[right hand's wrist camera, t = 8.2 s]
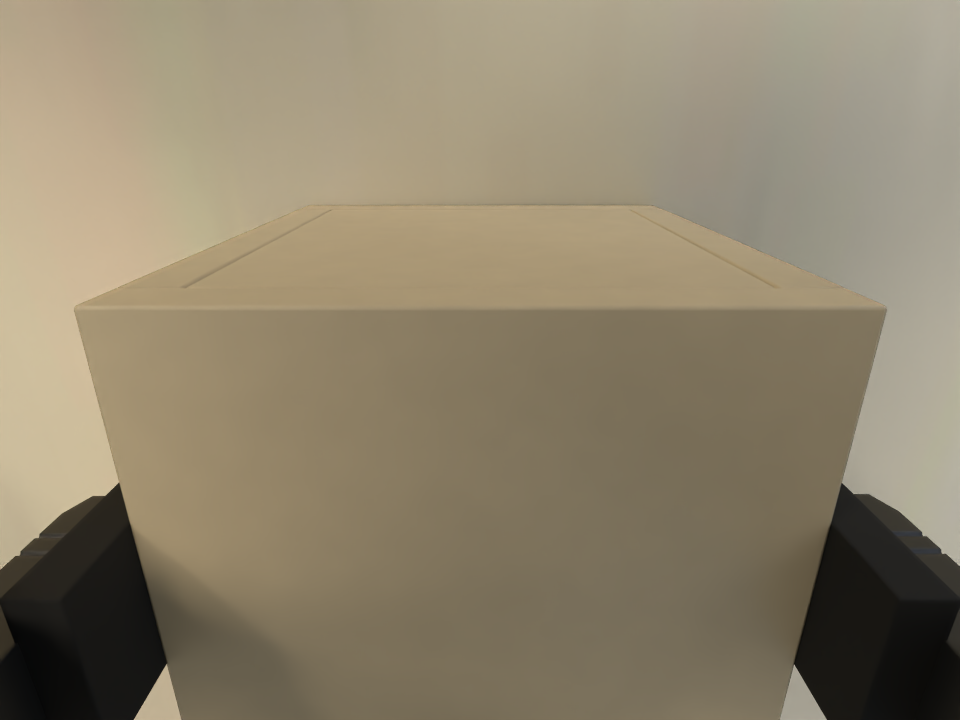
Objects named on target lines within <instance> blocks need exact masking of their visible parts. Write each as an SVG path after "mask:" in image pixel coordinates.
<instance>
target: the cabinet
mask: <svg viewBox="0 0 960 720" xmlns="http://www.w3.org/2000/svg"><path fill="white" fill-rule="evenodd" d="M74 312H75V315H76V319H77V323H78V327H79V331H80V334H81V338H82V342H83V346H84V350H85V353H86V357H87V361H88V365H89V369H90V372H91V376H92V380H93V384H94V388H95V392H96V395H97V399H98V403H99V407H100V411H101V414H102V418H103V422H104V426H105V430H106V433H107V437H108V441H109V445H110V449H111V452H112V456H113V460H114V464H115V468H116V472H117V475H118V479H119V483H120V487H121V491H122V494H123V498H124V502H125V506H126V510H127V513H128V517H129V521H130V525H131V529H132V532H133V536H134V540H135V544H136V548H137V552H138V555H139V559H140V563H141V567H142V571H143V574H144V578H145V582H146V586H147V590H148V593H149V597H150V601H151V605H152V609H153V612H154V616H155V620H156V624H157V628H158V632H159V635H160V639H161V643H162V647H163V651H164V654H165V658H166V662H167V666H168V670H169V673H170V677H171V681H172V685H173V689H174V692H175V696H176V700H177V704H178V708H179V712H180V715H181V719H182V720H780V716H781V712H782V708H783V704H784V701H785V697H786V693H787V689H788V685H789V682H790V678H791V674H792V670H793V666H794V663H795V659H796V655H797V651H798V647H799V643H800V640H801V636H802V632H803V628H804V624H805V621H806V617H807V613H808V609H809V605H810V601H811V598H812V594H813V590H814V586H815V582H816V579H817V575H818V571H819V567H820V563H821V560H822V556H823V552H824V548H825V544H826V540H827V537H828V533H829V529H830V525H831V521H832V518H833V514H834V510H835V506H836V502H837V498H838V495H839V491H840V487H841V483H842V479H843V476H844V472H845V468H846V464H847V460H848V456H849V453H850V449H851V445H852V441H853V437H854V434H855V430H856V426H857V422H858V418H859V415H860V411H861V407H862V403H863V399H864V395H865V392H866V388H867V384H868V380H869V376H870V373H871V369H872V365H873V361H874V357H875V353H876V350H877V346H878V342H879V338H880V334H881V331H882V327H883V323H884V319H885V315H886V312H887V308H886V306H885V305H882V304H880V303H878V302H875V301H873V300H871V299H868V298H866V297H864V296H861V295H859V294H857V293H855V292H852V291H850V290H848V289H845V288H843V287H842V286H839V285H837V284H835V283H832V282H830V281H828V280H825V279H823V278H821V277H818V276H816V275H814V274H811V273H809V272H807V271H805V270H802V269H800V268H798V267H795V266H793V265H791V264H788V263H786V262H784V261H781V260H779V259H777V258H774V257H772V256H770V255H768V254H765V253H763V252H761V251H758V250H756V249H754V248H751V247H749V246H747V245H744V244H742V243H740V242H737V241H735V240H733V239H730V238H728V237H726V236H724V235H721V234H719V233H717V232H714V231H712V230H710V229H707V228H705V227H703V226H700V225H698V224H696V223H693V222H691V221H689V220H686V219H684V218H682V217H680V216H677V215H675V214H673V213H670V212H668V211H666V210H663V209H660V208H657V207H655V206H653V205H340V206H307V207H304V208H302V209H299V210H296V211H294V212H292V213H289V214H287V215H285V216H282V217H280V218H278V219H275V220H273V221H271V222H269V223H266V224H264V225H262V226H259V227H257V228H255V229H252V230H250V231H248V232H245V233H243V234H241V235H238V236H236V237H234V238H231V239H229V240H227V241H224V242H222V243H220V244H218V245H215V246H213V247H211V248H208V249H206V250H204V251H201V252H199V253H197V254H194V255H192V256H190V257H187V258H185V259H183V260H180V261H178V262H176V263H173V264H171V265H169V266H167V267H164V268H162V269H160V270H157V271H155V272H153V273H150V274H148V275H146V276H143V277H141V278H139V279H136V280H134V281H132V282H129V283H127V284H125V285H122V286H120V287H118V288H116V289H113V290H111V291H109V292H106V293H104V294H102V295H100V296H97V297H95V298H93V299H90V300H88V301H86V302H83V303H81V304H79V305H76V306H75V308H74Z"/></svg>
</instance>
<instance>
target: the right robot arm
mask: <svg viewBox="0 0 960 720" xmlns="http://www.w3.org/2000/svg"><path fill="white" fill-rule="evenodd" d="M39 535H40V536H39V538H35V539H34V540H33V541H32V542H30V543H29V544H28V545H27V546H26V547H25V548H24V549H23V550H22V551H21V554H20V556H15V557H14V558H13V559H12V560H11V561H10V562H9V563H7V564H6V565H5V566H4V567H3V568H2V569H1V570H0V720H134V718H135V717H136V715H137V713H138V711H139V710H140V708H141V706H142V705H143V703H144V701H145V700H146V698H147V696H148V694H149V693H150V691H151V689H152V688H153V686H154V684H155V683H156V681H157V679H158V677H159V676H160V674H161V672H162V671H163V669H164V667H165V666H166V664H167V662H166V658H165V654H164V651H163V647H162V643H161V639H160V635H159V632H158V628H157V624H156V620H155V616H154V612H153V609H152V605H151V601H150V597H149V593H148V590H147V586H146V582H145V578H144V574H143V571H142V567H141V563H140V559H139V555H138V552H137V548H136V544H135V540H134V536H133V532H132V529H131V525H130V521H129V517H128V513H127V510H126V506H125V502H124V498H123V494H122V491H121V487H120V483H118V484H117V485H116V486H115V487H114V488H113V489H112V490H111V491H110V492H109V493H108V494H107V495H106V496H92V497H90V498H89V499H87V500H85V501H83V502H82V503H80V504H78V505H76V506H75V507H73V508H71V509H69V510H68V511H66V512H64V513H62V514H61V515H60V516H59V517H58V518H57V519H56V520H55V521H53V522H52V523H51V524H50V525H49V526H48V527H47V528H46V529H45V530H44V531H42V532H41V533H40V534H39ZM794 665H795V666H796V668H797V670H798V671H799V673H800V675H801V676H802V678H803V680H804V681H805V683H806V685H807V687H808V688H809V690H810V692H811V693H812V695H813V697H814V698H815V700H816V702H817V704H818V705H819V707H820V709H821V710H822V712H823V714H824V715H825V717H826V719H827V720H960V566H959V565H958V564H956V563H955V562H954V561H953V560H952V559H951V558H950V557H949V556H948V555H947V554H942V553H941V549H940V548H939V547H938V546H937V545H936V544H934V543H933V542H932V541H931V540H930V539H929V538H928V537H927V536H922V532H921V531H920V530H919V529H918V528H917V527H916V526H915V525H913V524H912V523H911V522H910V521H909V520H908V519H907V518H906V517H905V516H904V515H902V514H901V513H900V512H899V511H897V510H895V509H894V508H892V507H890V506H888V505H887V504H885V503H883V502H881V501H880V500H878V499H876V498H874V497H872V496H871V495H869V494H853V493H852V492H851V491H850V490H849V489H848V488H847V487H845V486H844V485H843V484H842V483H841V487H840V491H839V495H838V498H837V502H836V506H835V510H834V514H833V518H832V521H831V525H830V529H829V533H828V537H827V540H826V544H825V548H824V552H823V556H822V560H821V563H820V567H819V571H818V575H817V579H816V582H815V586H814V590H813V594H812V598H811V601H810V605H809V609H808V613H807V617H806V621H805V624H804V628H803V632H802V636H801V640H800V643H799V647H798V651H797V655H796V659H795V663H794Z"/></svg>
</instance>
